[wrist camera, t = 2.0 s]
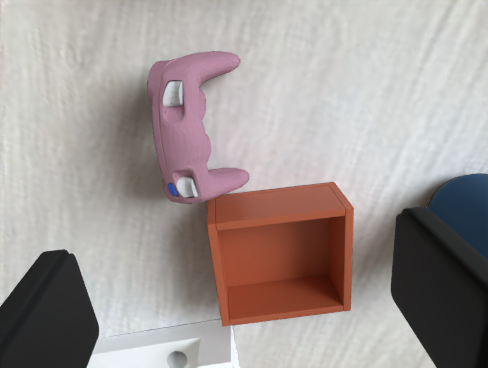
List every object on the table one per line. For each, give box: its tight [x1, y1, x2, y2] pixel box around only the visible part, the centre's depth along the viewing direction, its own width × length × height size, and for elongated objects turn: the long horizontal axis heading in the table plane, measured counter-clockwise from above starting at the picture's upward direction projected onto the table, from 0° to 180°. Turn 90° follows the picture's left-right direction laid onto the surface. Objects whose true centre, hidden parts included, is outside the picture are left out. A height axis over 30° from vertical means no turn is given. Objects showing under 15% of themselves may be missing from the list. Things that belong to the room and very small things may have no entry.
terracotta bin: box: [207, 182, 354, 327], centre depth 29 cm, size 10×9×5 cm
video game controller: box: [147, 51, 249, 204], centre depth 25 cm, size 10×5×7 cm, turn 4°
